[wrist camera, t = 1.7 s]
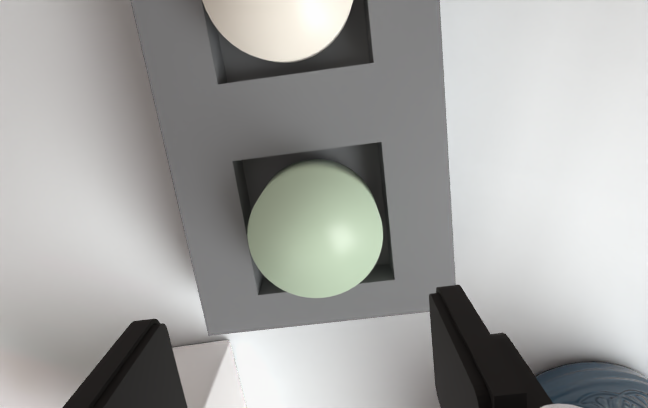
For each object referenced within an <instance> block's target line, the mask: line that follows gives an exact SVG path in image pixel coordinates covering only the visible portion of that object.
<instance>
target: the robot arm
mask: <svg viewBox="0 0 648 408" xmlns="http://www.w3.org/2000/svg"><path fill="white" fill-rule="evenodd" d="M429 306H430V319H431V333H432V346H433V359H434V373H435V385H436V391H437V396H438V400H439V403H440V406H441V408H582V407H578V406H575V405H569V404H554V403H553V402H552V400H551V399H550V398H549V396H548V395H547V393H546V392H545V390H544V389H543V387H542V386H541V384H540V383H539V381H538V380H537V379H536V377H535V376H534V374H533V373H532V371H531V370H530V368H529V367H528V365H527V364H526V362H525V361H524V360H523V358H522V357H521V355H520V354H519V352H518V351H517V349H516V348H515V346H514V345H513V343H512V342H511V341H510V339H509V338H508V337H507V335H506V334H504V333H498V334H490V333H489V331H488V330H487V328H486V326H485V325H484V323H483V321H482V320H481V318H480V317H479V315H478V313H477V312H476V310H475V309H474V307H473V305H472V304H471V302H470V301H469V299H468V297H467V296H466V294H465V293H464V291H463V289H462V288H461V286H460V285H452V286H443V287H437V288H436V293H432V294H429ZM63 408H188V407H187V403H186V399H185V396H184V392H183V388H182V384H181V380H180V376H179V372H178V369H177V365H176V361H175V357H174V353H173V349H172V346H171V342H170V338H169V334H168V330H167V327H166V325H165V324H160V323H159V321H158V320H157V319H150V320H141V321H133V322H132V323H131V324H130V325H129V327H128V328H127V329H126V330H125V331H124V333H123V334H122V335H121V336H120V338H119V339H118V340H117V341H116V343H115V344H114V345H113V346H112V347H111V349H110V350H109V351H108V352H107V354H106V355H105V356H104V357H103V359H102V360H101V361H100V362H99V363H98V365H97V366H96V367H95V368H94V370H93V371H92V372H91V373H90V375H89V376H88V377H87V378H86V379H85V381H84V382H83V383H82V384H81V386H80V387H79V388H78V389H77V391H76V392H75V393H74V394H73V395H72V397H71V398H70V399H69V400H68V402H67V403H66V404H65V405H64V407H63Z"/></svg>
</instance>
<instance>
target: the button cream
mask: <svg viewBox="0 0 648 408" xmlns="http://www.w3.org/2000/svg"><path fill="white" fill-rule="evenodd" d="M202 1H203V4H204V6H205V9H206V11H207V13H208V15H209V17H210V19H211V21H212V22H213V24H214V25H215V27H216V28H217V29H218V31H219V32H220V33H221V34H222V35H223V36H224V37H225V38H226V39H227V40H228V41H229V42H230V43H231V44H233V45H234V46H235V47H237V48H238V49H240V50H241V51H243V52H245V53H247V54H249V55H252V56H255V57H258V58H261V59H264V60H268V61H273V62H278V63H294V62H299V61H303V60H306V59H309V58H312V57H314V56H315V55H317V54H319V53H321V52H322V51H323V50H325V49H326V48H327V47H328V46H329V45H330V44H332V43H333V41H334V40H335V39H336V38H337V37H338V35H339V34H340V32H341V31H342V29H343V28H344V25H345V23H346V21H347V19H348V16H349V13H350V10H351V6H352V3H353V0H202Z"/></svg>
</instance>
